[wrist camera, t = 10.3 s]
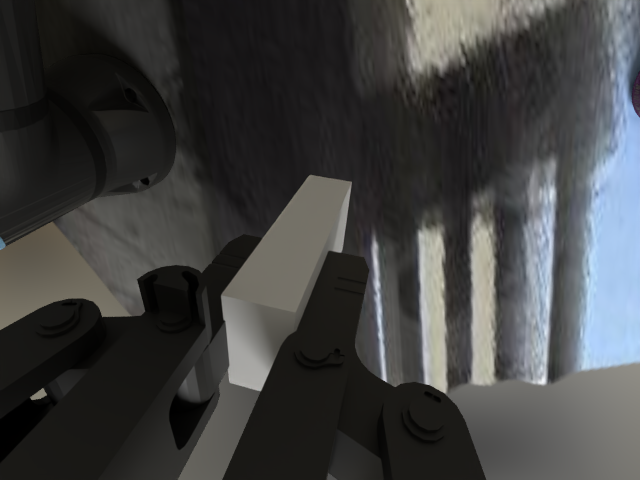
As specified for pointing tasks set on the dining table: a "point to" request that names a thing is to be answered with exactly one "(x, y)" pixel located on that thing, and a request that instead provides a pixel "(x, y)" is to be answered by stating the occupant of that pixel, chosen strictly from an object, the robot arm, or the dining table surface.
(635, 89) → the beverage can
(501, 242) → the dining table surface
